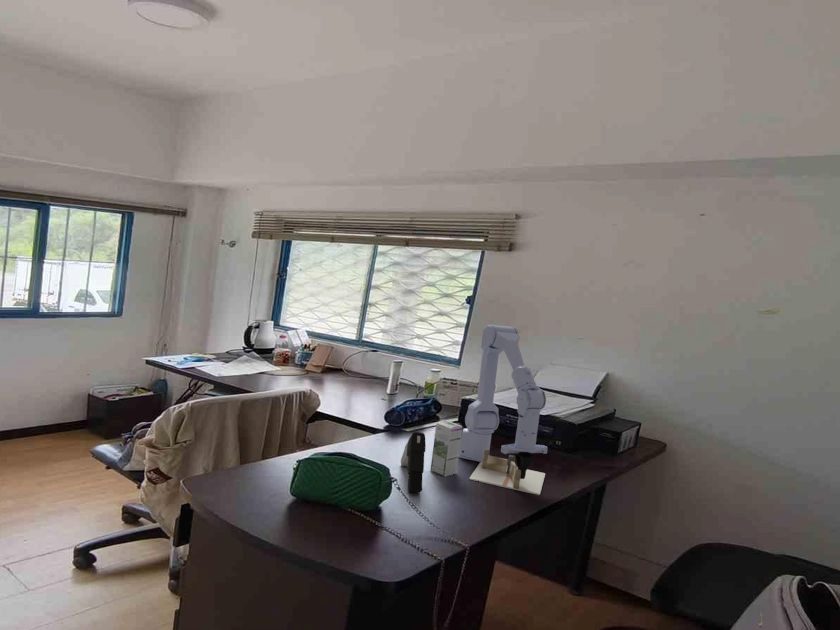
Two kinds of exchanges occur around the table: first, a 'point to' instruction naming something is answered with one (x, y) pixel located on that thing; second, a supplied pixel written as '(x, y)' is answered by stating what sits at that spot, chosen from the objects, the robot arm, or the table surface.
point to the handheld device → (414, 460)
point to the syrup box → (446, 448)
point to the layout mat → (528, 484)
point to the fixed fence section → (496, 462)
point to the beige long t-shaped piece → (514, 475)
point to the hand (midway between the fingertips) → (520, 477)
